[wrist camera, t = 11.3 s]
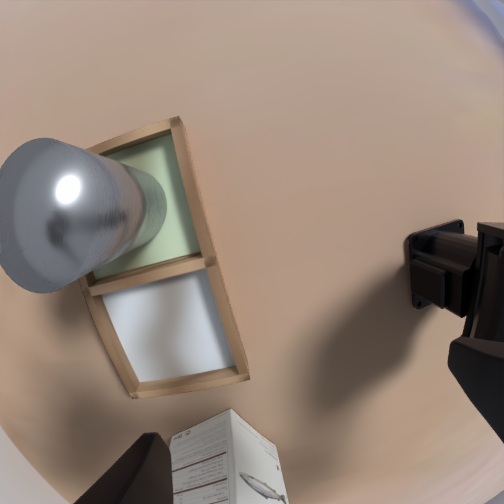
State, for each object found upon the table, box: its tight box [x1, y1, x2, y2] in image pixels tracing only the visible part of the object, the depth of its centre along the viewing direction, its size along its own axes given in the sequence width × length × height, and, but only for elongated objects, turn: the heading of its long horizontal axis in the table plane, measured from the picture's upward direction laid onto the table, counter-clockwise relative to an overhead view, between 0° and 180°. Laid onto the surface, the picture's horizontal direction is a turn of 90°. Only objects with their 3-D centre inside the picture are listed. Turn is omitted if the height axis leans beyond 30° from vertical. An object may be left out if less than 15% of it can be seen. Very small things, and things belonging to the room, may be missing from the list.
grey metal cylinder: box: [0, 138, 167, 293], centre depth 12 cm, size 5×5×10 cm
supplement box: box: [169, 409, 289, 504], centre depth 16 cm, size 7×7×13 cm
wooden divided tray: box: [78, 116, 250, 399], centre depth 17 cm, size 9×17×2 cm, turn 14°
